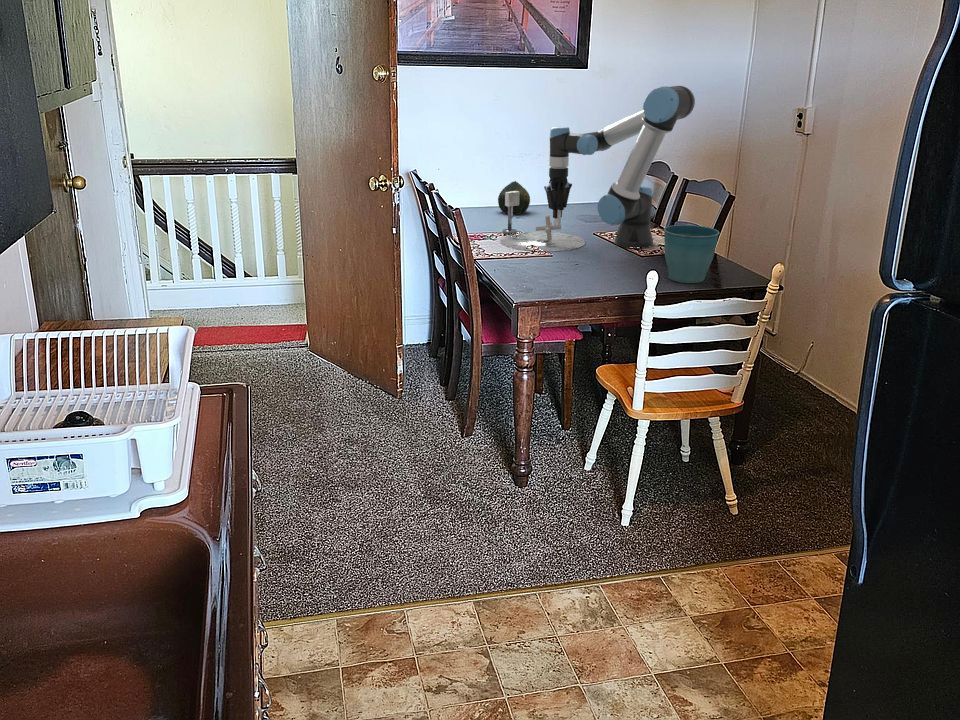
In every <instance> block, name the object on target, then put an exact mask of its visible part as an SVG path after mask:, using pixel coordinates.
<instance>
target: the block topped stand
mask: <svg viewBox="0 0 960 720" xmlns="http://www.w3.org/2000/svg"><path fill="white" fill-rule="evenodd" d="M519 195H520V192H519V191H511V192H505V206H508V213H507V228H504V229H502V231H501V232H503V233H502V234H504V233H507V234H506V235H511V234H510V233H516V232H517V229H515V228H512V226H513V222H512V219H513V218H514V217H513V216H514V215H513V214H514V211H513V206H517V205H519ZM516 234H517V233H516Z"/></svg>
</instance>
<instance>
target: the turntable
mask: <svg viewBox="0 0 960 720" xmlns="http://www.w3.org/2000/svg"><path fill="white" fill-rule="evenodd" d="M516 234H517V233H516ZM516 234H514V235H516ZM514 235H512V234H507V235H506V236H502V238H500V243H501V244H502V245H503V246H505V245H506V246H505V247H507V246H508V247H507V248H510V247H512V248H511V249H514V248H517V249H516V250H519V249H523V250H522V251H526V250H528V249H529V248H528V247H526V246H530V245H535V246H537V247H539V248H540V249H541V250H543V251H549V253H551V252H564V251H565V252H567V251H572V250H576V249H580V248H582V247H583V246H585V244H586V240H584V238H582V237H580V236H577V235H573V234H568V233H562V232H554V231H551V236H552V240H547V233H546V232H545V231H527V232H519V236H518V235H516V236H518V237H519V238H516V236H514ZM511 236H512V237H511ZM518 240H519V241H518ZM517 242H518V243H517ZM526 248H528V249H526Z"/></svg>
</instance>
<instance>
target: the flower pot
mask: <svg viewBox="0 0 960 720" xmlns="http://www.w3.org/2000/svg"><path fill="white" fill-rule="evenodd" d="M663 232H664V247H663V248H664V257H665V262H666V265H667V270H668V278H669V279H670V280H671V281H674V282H678V283H683V284H697V283H702V282H704V281H705V279H706V275H707V272H708V270H709V268H710V266H711V264H712V261H713V259H714V256H715V252H716V249H717V248H716V247H717V243H718V239H719V236H720V231H719V230H718V229H715V228H713V227H710V226H709V227H708V226H702V225H691V224H677V225H676V224H674V225H668V226H666V227H664V228H663Z"/></svg>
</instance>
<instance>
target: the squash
mask: <svg viewBox="0 0 960 720" xmlns="http://www.w3.org/2000/svg"><path fill="white" fill-rule="evenodd" d="M511 191H519V192H520V195H519V205H517V206H513V214H515V213H516V215H519V214H522V213H526V211H527V210H528V208H529V207H530V204H531V197H530V194H529V192H528V191H527V189H526V188H525V187H524V186H523V185H522V184H520V183H519V182H518V181H516V180H515V181H511V182H510V183H509V184H507V185H506V186H504V187H503V188H502V190H501V191H500V192H499V195H498V198H497V202H498V207H499V209H500V211H502V212H503V213H505V212H508V206H505V192H511Z"/></svg>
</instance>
